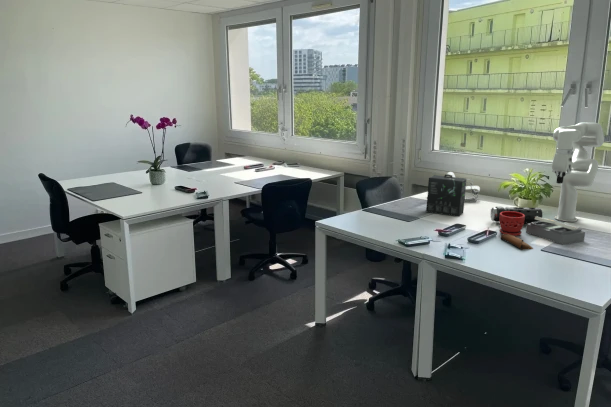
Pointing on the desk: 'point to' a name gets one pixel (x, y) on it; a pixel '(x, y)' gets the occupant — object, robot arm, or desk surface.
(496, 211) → the muzzle brake
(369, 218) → the desk surface
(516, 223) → the plant pot
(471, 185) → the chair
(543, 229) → the panel
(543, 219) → the plate
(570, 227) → the rocker
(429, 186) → the headset box
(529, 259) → the desk surface
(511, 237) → the brown pointed cylinder
